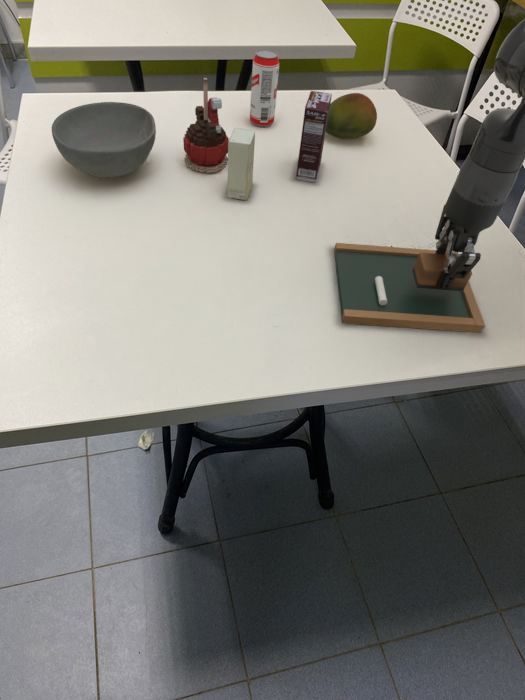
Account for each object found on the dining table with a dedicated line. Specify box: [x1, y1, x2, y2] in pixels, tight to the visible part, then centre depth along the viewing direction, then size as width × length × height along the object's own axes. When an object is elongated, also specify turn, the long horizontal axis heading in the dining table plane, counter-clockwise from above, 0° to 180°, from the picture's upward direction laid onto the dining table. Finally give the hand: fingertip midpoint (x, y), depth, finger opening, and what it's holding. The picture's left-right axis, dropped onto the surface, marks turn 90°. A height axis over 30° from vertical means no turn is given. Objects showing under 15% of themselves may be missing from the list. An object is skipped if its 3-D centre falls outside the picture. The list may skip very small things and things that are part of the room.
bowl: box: [51, 101, 157, 178], centre depth 103 cm, size 20×20×10 cm
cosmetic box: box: [226, 127, 256, 201], centre depth 100 cm, size 6×4×12 cm
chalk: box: [375, 276, 387, 306], centre depth 85 cm, size 1×6×1 cm, turn 179°
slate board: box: [333, 242, 486, 333], centre depth 88 cm, size 24×19×2 cm
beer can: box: [249, 48, 280, 128], centre depth 119 cm, size 6×6×16 cm
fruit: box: [326, 92, 378, 140], centre depth 120 cm, size 12×13×10 cm
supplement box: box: [295, 90, 333, 183], centre depth 106 cm, size 9×5×16 cm, turn 168°
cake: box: [182, 77, 230, 173], centre depth 104 cm, size 11×9×18 cm
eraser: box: [412, 252, 473, 291], centre depth 83 cm, size 8×4×4 cm, turn 89°
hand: (439, 277), depth 84 cm, fingers closed on eraser, 4 cm apart
